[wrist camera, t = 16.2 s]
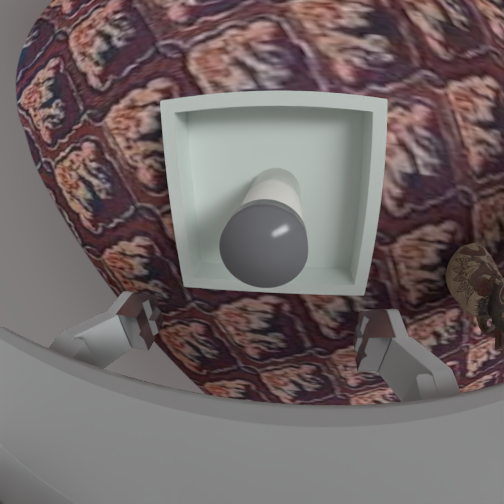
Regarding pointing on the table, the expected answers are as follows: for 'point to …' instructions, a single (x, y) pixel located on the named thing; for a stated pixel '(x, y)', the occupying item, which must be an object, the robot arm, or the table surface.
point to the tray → (285, 157)
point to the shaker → (267, 232)
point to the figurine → (478, 288)
